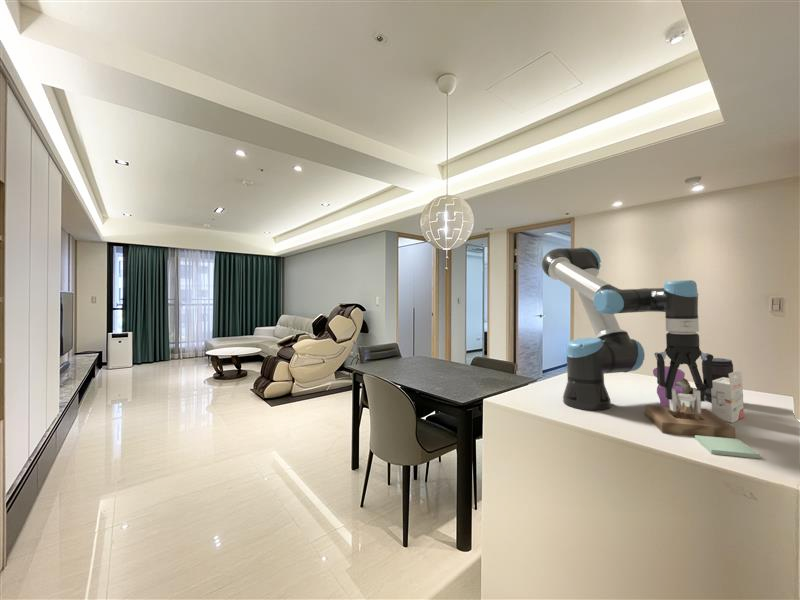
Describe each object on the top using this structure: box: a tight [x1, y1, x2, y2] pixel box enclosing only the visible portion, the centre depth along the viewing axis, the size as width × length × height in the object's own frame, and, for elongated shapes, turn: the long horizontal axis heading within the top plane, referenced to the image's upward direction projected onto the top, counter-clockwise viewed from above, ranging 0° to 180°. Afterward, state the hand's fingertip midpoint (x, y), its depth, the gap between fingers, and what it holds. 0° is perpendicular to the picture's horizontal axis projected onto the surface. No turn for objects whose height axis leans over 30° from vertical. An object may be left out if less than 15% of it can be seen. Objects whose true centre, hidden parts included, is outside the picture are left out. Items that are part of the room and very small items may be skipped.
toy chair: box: [652, 365, 686, 407], centre depth 114 cm, size 8×9×15 cm
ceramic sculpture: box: [675, 377, 697, 396], centre depth 128 cm, size 11×9×15 cm
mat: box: [694, 435, 761, 459], centre depth 85 cm, size 9×9×1 cm
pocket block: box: [644, 404, 736, 439], centre depth 101 cm, size 16×16×3 cm
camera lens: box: [701, 357, 734, 404], centre depth 120 cm, size 8×8×15 cm
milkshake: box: [676, 393, 696, 420], centre depth 101 cm, size 4×5×10 cm
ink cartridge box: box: [711, 370, 745, 424], centre depth 105 cm, size 9×5×15 cm, turn 117°
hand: (685, 410), depth 101 cm, fingers closed on milkshake, 5 cm apart
